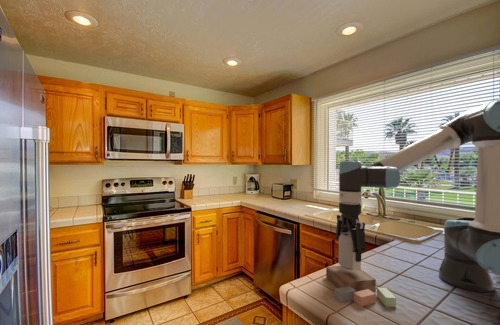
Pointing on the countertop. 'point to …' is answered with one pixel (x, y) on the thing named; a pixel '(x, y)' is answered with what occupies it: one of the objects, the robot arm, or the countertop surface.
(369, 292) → the brick terracotta
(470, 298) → the countertop surface
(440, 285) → the countertop surface
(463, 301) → the countertop surface
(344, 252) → the can
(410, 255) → the countertop surface
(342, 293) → the brick slate
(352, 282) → the walnut block
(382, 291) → the brick sage
